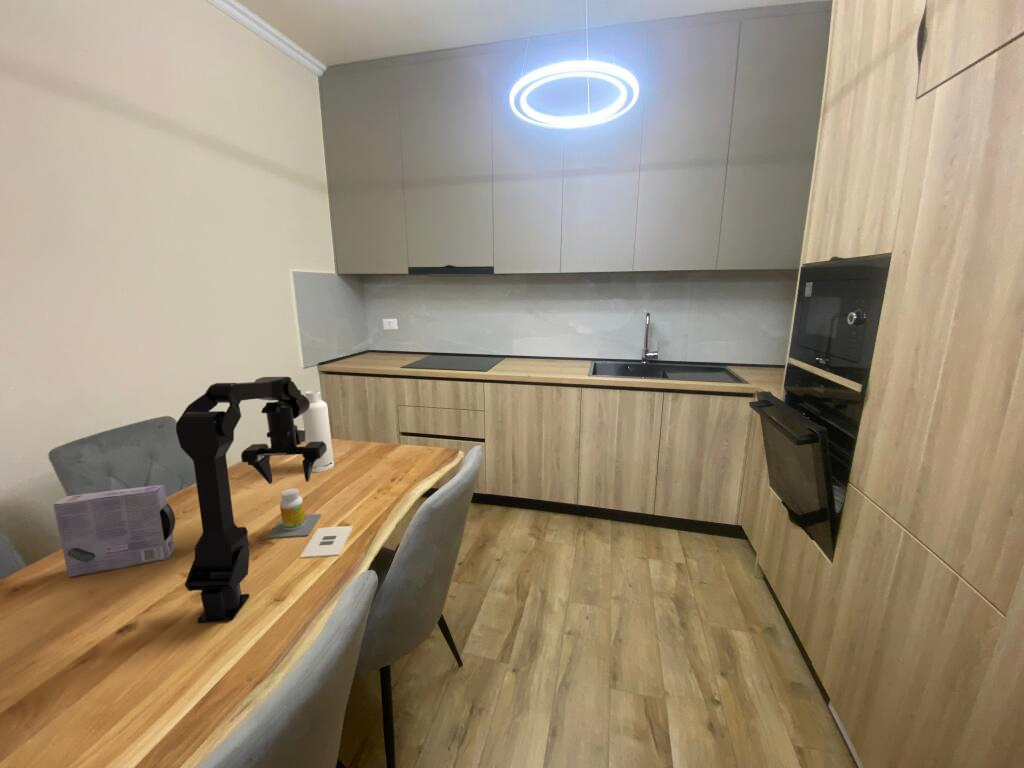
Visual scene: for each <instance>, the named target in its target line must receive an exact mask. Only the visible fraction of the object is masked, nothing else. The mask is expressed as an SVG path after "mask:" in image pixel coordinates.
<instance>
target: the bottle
mask: <svg viewBox="0 0 1024 768" xmlns="http://www.w3.org/2000/svg"><path fill="white" fill-rule="evenodd" d="M304 393H305V395H304V396H305V397H306V398H307V399H308V401H309V403H310V406H309V409H308V410H307V411H306V412H305V413H303V414H301V416H302V421H303V430H305V446H306V445H307V444H308V443H309V442H321V441H323V442H324V443H325V444H326V448H327V451H326V452H325V453H324V454H323V455H322V457H321V458H319V459H317V460H316V461H315V462H314V464H313V468H312V472H311V473H316V472H317V473H322V472H321V471H324V472H326V471H325V470H328V469H330V468H332V467H333V466H334V467H335V464H334V463H335V462H334V454H333V446H332V445H333V443H332V436H331V434H332V433H331V428H330V427H331V425H330V417H329V409H328V403H327V402H325V401H323V399H322V397H321V396H320V395H321V393H322V392H321V390H319V389H314V390H313V389H311V390H307V391H305V392H304ZM330 463H332V464H330ZM334 467H333V468H334ZM333 468H332V469H333ZM330 470H331V469H330ZM328 471H329V470H328Z"/></svg>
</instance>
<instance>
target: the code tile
mask: <svg viewBox="0 0 1024 768" xmlns="http://www.w3.org/2000/svg"><path fill="white" fill-rule="evenodd" d="M353 528H354V526H353V525H347V526H332V527H331V526H330V527H329V526H328V527H318V528H317V529H316V530H315V532H314V534H313V535H312V537H311V538H310V540H309V542H308V543H307V544H306V546H305V548H304V549H303V551H302V553H301V554H300V556H299V559H303V558H304V559H306V558H307V559H308V558H319V557H320V558H321V557H334V556H340V555H341V553H342V551H343V549H344V546H345V545H346V542H347V541H348V538H349V536H350V534H351V533H352V530H353Z"/></svg>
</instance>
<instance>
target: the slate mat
mask: <svg viewBox="0 0 1024 768" xmlns="http://www.w3.org/2000/svg"><path fill="white" fill-rule="evenodd" d="M321 516H322V513H317V514H305V520H306V522H305V524H304V525H303V526H302V527H300V528H298V529H295V530H285V529H284V528H283V523H282V518H281V519H280V520H279V521H278V523H277V524H276V525H275V526H274V528H273V529H272V530H271V531H270V532H269V534H268V535H267V537H266V539H269V540H270V539H282V538H285V539H286V538H298V537H308V536H309V535H310V534H311V532H312V531H313V529H314V527H315V526H316V524H317V523H318V522H319V520H320V518H321Z"/></svg>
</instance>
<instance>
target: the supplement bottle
mask: <svg viewBox="0 0 1024 768" xmlns="http://www.w3.org/2000/svg"><path fill="white" fill-rule="evenodd" d="M279 508H280V516H281V519H282V523H283V528H284V529H285V530H295V529H298V528H300V527H302V526H303V525H304V524H305V522H306V520H305V515H306V513H305V506H304V500H303V497H302V496H301V495H300V491H299V490H298V488H289V489H285V490H284V491H282V492H281V501H280V502H279Z"/></svg>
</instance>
